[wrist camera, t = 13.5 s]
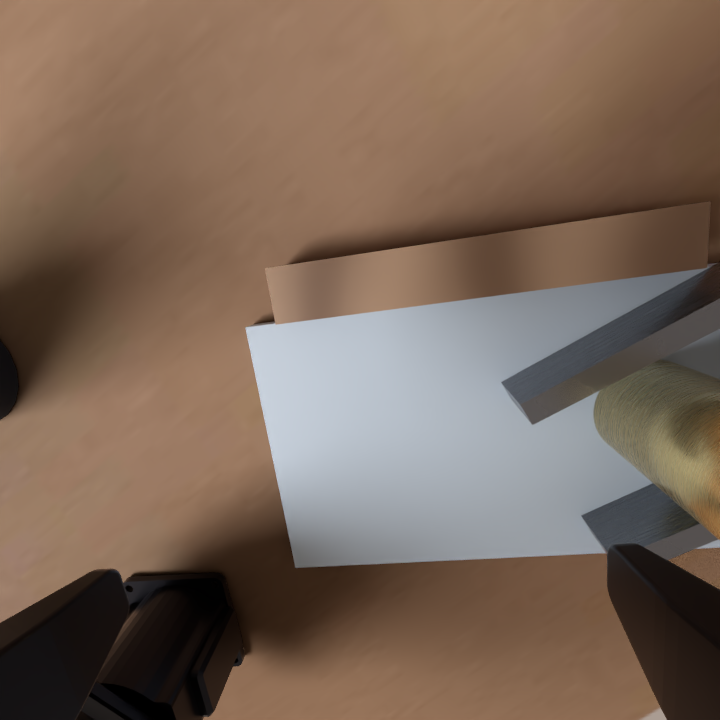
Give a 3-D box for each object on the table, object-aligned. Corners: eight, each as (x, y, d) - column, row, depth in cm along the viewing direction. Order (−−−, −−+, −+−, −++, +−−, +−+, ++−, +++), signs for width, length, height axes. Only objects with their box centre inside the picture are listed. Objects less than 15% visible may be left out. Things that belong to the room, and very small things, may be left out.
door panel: (300, 555, 23) (295, 567, 22) (253, 324, 20) (245, 327, 19) (787, 529, 19) (807, 543, 18) (819, 249, 16) (845, 248, 16)
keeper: (590, 531, 19) (623, 577, 17) (500, 382, 18) (519, 404, 15) (819, 430, 17) (903, 464, 14) (736, 252, 16) (810, 249, 13)
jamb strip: (291, 317, 19) (275, 324, 17) (282, 268, 19) (264, 268, 16) (664, 267, 17) (706, 268, 15) (665, 210, 17) (710, 201, 14)
